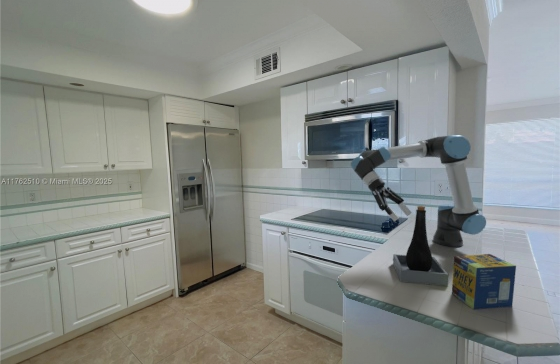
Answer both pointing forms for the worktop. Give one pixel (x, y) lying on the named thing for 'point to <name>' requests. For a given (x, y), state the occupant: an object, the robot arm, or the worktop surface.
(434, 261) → the tray
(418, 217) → the bottle
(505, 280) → the protein box
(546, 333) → the worktop surface
